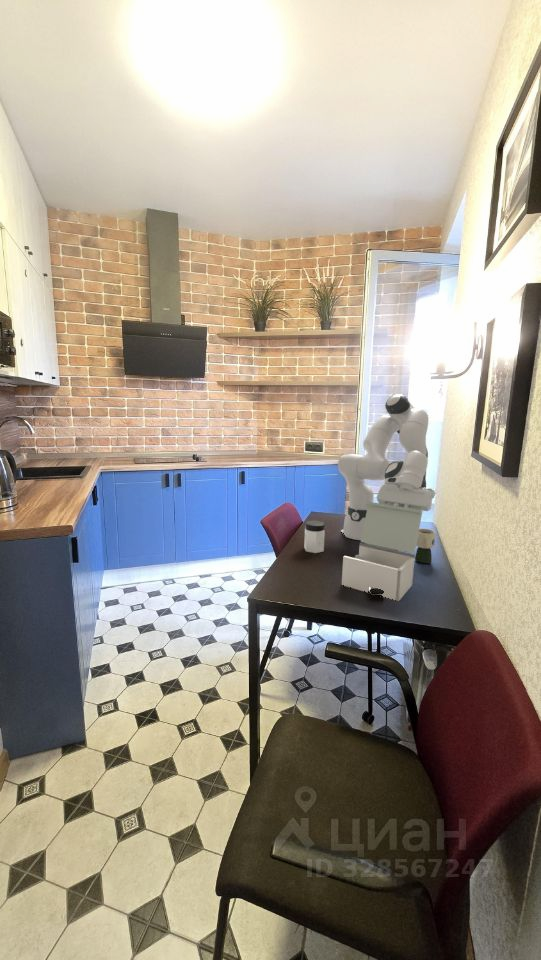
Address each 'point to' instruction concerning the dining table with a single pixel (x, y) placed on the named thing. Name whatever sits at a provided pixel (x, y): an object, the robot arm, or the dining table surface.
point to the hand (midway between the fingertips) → (398, 515)
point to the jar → (314, 536)
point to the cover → (391, 526)
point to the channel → (379, 571)
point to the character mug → (425, 545)
